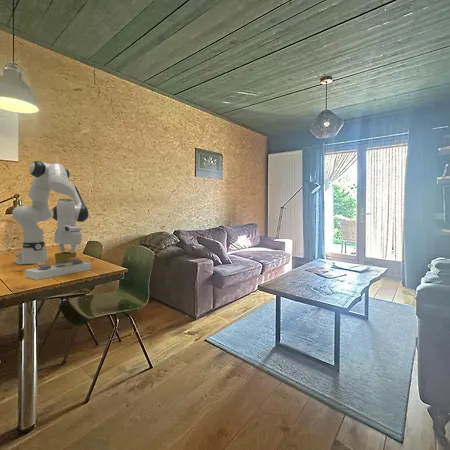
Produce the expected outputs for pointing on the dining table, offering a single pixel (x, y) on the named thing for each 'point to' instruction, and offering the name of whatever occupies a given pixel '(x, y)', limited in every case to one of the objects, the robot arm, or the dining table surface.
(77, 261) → the rocker far
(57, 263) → the rocker middle
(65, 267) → the power strip
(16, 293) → the dining table surface
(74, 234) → the robot arm
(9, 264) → the dining table surface
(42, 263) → the rocker near
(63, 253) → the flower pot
